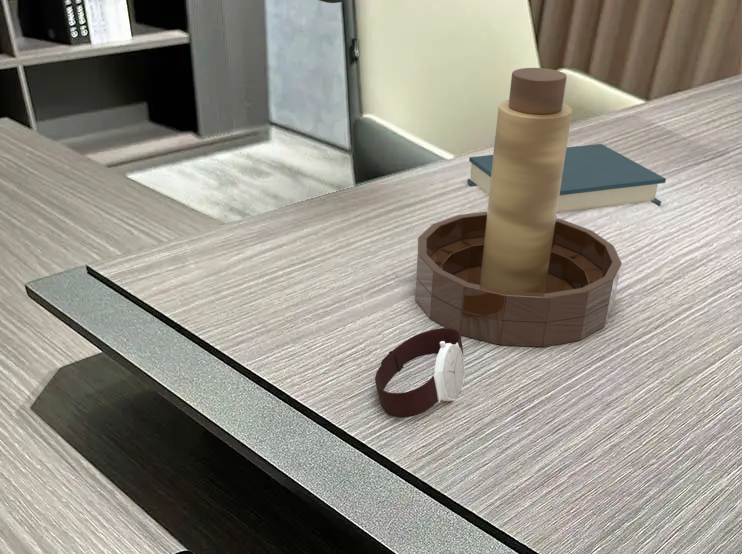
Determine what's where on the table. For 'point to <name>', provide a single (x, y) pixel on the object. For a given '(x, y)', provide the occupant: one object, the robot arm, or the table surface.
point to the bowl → (516, 309)
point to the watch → (438, 388)
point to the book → (589, 178)
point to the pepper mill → (526, 181)
